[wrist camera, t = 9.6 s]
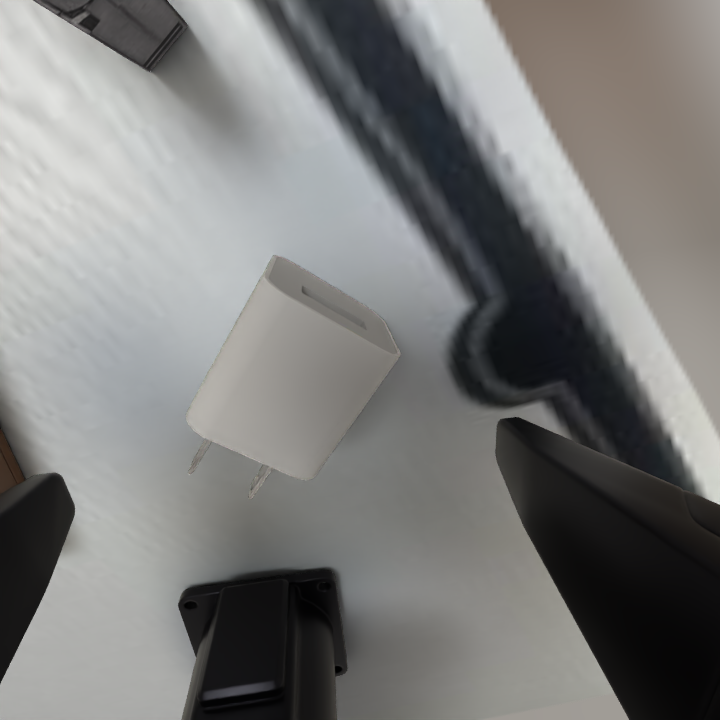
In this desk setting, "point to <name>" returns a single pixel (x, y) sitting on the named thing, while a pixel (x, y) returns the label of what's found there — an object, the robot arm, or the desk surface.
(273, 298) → the usb wall charger
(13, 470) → the tray
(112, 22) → the mini dv tape
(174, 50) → the desk surface
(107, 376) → the desk surface
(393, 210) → the desk surface
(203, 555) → the desk surface
